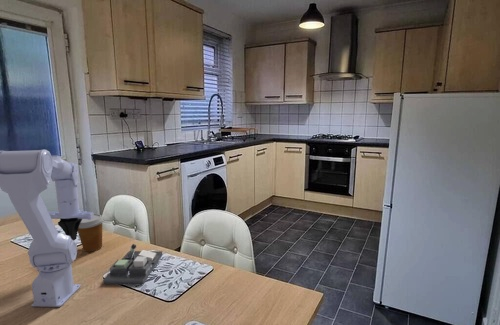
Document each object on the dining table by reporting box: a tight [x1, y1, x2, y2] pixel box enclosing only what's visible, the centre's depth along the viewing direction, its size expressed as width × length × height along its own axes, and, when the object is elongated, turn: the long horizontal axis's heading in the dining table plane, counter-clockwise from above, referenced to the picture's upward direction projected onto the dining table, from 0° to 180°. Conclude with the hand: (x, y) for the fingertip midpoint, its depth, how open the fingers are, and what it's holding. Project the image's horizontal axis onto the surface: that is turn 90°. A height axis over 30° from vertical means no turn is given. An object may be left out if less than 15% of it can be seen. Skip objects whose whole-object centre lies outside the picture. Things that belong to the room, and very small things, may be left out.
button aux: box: [133, 256, 147, 267], centre depth 91 cm, size 3×3×2 cm
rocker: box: [138, 249, 156, 260], centre depth 98 cm, size 4×5×1 cm
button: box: [115, 259, 129, 267], centre depth 92 cm, size 3×3×2 cm
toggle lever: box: [128, 243, 137, 258], centre depth 97 cm, size 2×2×5 cm
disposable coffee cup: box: [77, 213, 104, 253], centre depth 108 cm, size 10×10×12 cm
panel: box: [103, 250, 163, 286], centre depth 95 cm, size 18×12×3 cm
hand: (72, 239), depth 94 cm, fingers closed
